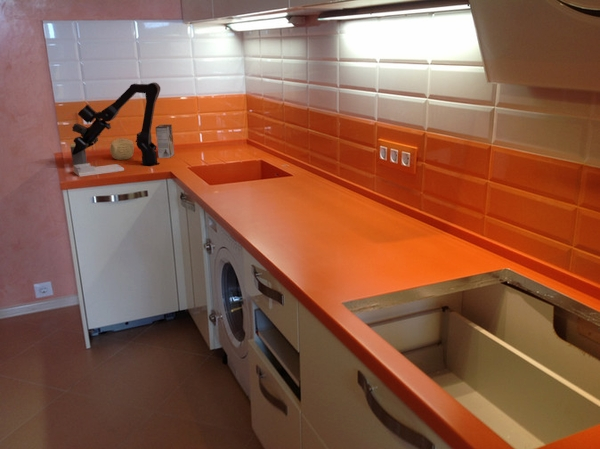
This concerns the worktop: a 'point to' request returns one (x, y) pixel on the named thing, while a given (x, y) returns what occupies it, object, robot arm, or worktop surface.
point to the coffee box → (164, 141)
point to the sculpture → (122, 149)
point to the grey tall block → (78, 156)
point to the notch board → (95, 169)
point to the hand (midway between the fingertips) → (75, 152)
